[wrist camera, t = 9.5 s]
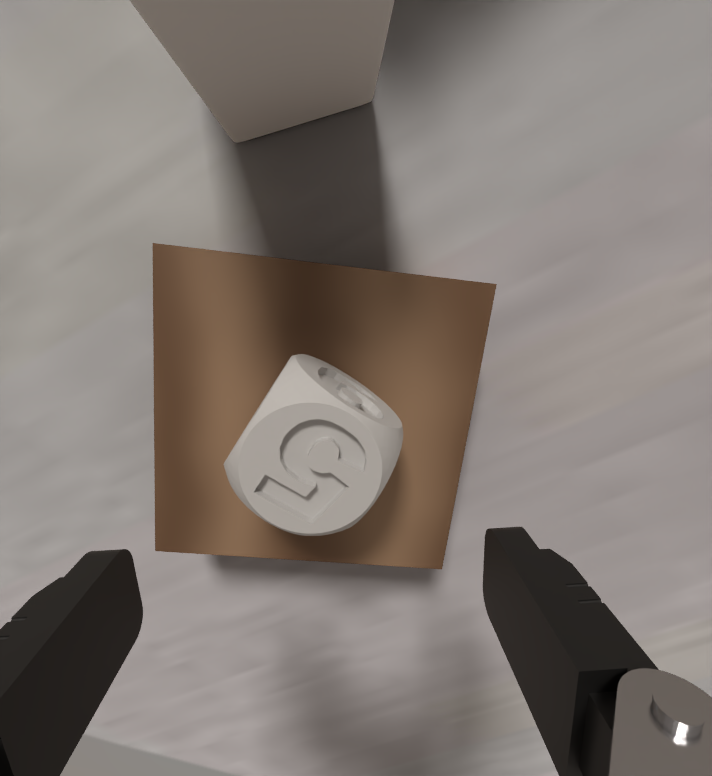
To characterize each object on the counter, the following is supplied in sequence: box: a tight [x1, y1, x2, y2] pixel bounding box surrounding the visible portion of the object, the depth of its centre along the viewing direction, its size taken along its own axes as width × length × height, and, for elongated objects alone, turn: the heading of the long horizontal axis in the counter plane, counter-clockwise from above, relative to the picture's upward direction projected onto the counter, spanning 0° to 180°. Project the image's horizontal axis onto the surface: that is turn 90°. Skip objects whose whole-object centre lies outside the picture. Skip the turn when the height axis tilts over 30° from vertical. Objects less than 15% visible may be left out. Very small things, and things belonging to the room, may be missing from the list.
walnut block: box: [153, 243, 496, 569], centre depth 21 cm, size 14×14×6 cm
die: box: [224, 354, 403, 536], centre depth 16 cm, size 5×5×5 cm
